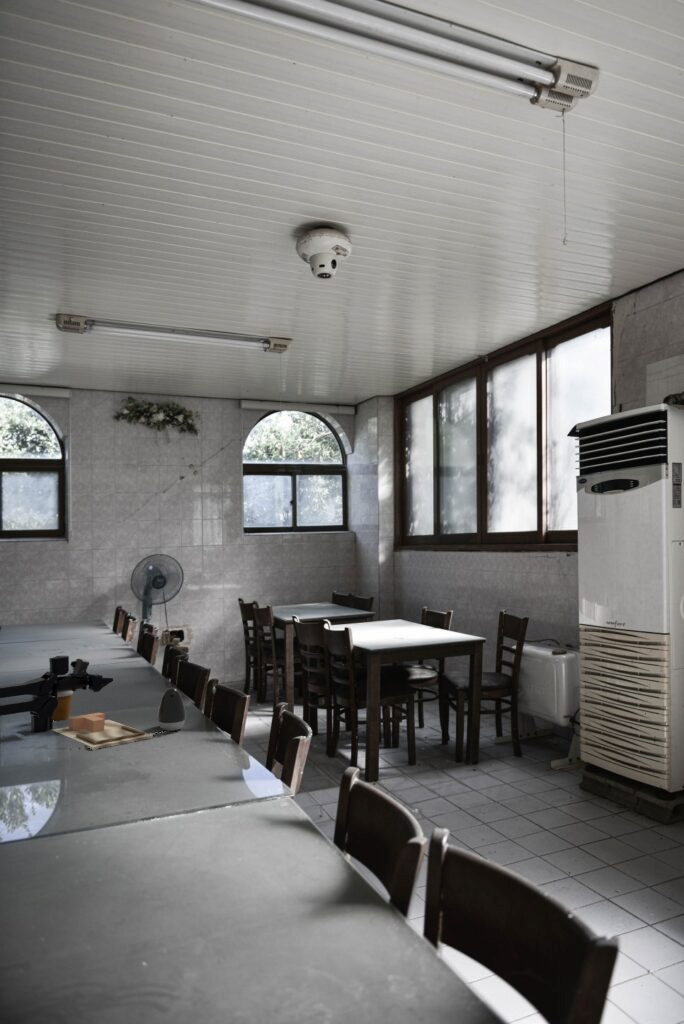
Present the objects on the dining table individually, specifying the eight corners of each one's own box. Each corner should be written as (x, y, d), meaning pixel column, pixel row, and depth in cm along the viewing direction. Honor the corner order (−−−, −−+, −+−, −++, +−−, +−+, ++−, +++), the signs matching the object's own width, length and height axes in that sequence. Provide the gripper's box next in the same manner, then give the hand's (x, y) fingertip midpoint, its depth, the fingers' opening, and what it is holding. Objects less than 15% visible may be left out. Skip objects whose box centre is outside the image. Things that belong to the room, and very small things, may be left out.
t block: (82, 734, 257) (82, 723, 257) (68, 728, 266) (68, 717, 266) (114, 728, 265) (114, 717, 265) (99, 723, 274) (99, 712, 274)
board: (92, 750, 240) (92, 744, 240) (51, 732, 264) (51, 727, 264) (152, 737, 255) (152, 732, 255) (108, 722, 279) (108, 717, 280)
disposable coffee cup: (77, 717, 288) (77, 687, 288) (65, 723, 278) (66, 691, 279) (54, 717, 289) (54, 687, 289) (42, 723, 279) (42, 691, 280)
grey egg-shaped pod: (157, 734, 260) (157, 691, 261) (157, 727, 270) (157, 686, 271) (186, 731, 263) (186, 689, 264) (185, 725, 273) (185, 684, 274)
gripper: (78, 664, 265) (118, 659, 276) (58, 659, 279) (97, 654, 289) (78, 694, 264) (118, 689, 275) (57, 688, 278) (96, 683, 289)
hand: (107, 678), depth 282 cm, fingers open, 9 cm apart
